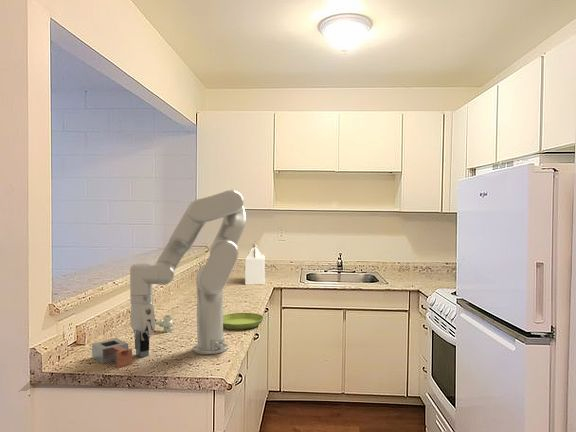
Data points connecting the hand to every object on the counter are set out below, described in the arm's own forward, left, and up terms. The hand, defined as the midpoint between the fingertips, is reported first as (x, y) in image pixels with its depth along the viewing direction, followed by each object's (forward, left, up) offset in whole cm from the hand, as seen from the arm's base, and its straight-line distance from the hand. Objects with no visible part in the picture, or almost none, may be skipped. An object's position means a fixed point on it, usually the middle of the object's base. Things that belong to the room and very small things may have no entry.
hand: (142, 349), depth 159 cm
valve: (+25, -21, -3) cm, 33 cm away
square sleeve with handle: (+3, +9, -2) cm, 10 cm away
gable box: (+86, -129, -3) cm, 155 cm away
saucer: (+7, -51, -3) cm, 52 cm away
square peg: (0, 0, -2) cm, 2 cm away
